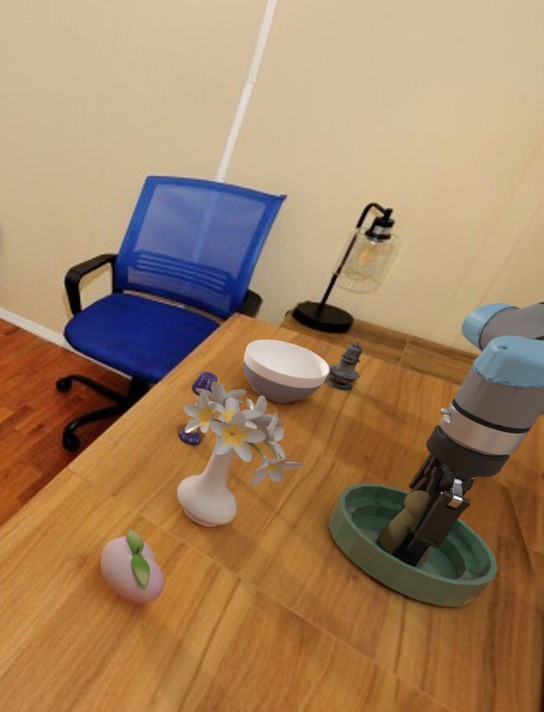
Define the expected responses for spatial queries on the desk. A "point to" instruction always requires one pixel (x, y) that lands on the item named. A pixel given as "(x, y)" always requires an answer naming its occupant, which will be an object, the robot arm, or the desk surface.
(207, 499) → the flower vase
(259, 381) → the bowl
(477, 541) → the green bowl
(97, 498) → the desk surface
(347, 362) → the grey stone figurine
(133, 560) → the decorative fruit
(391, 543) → the olive brown pawn
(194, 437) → the toy lamp
